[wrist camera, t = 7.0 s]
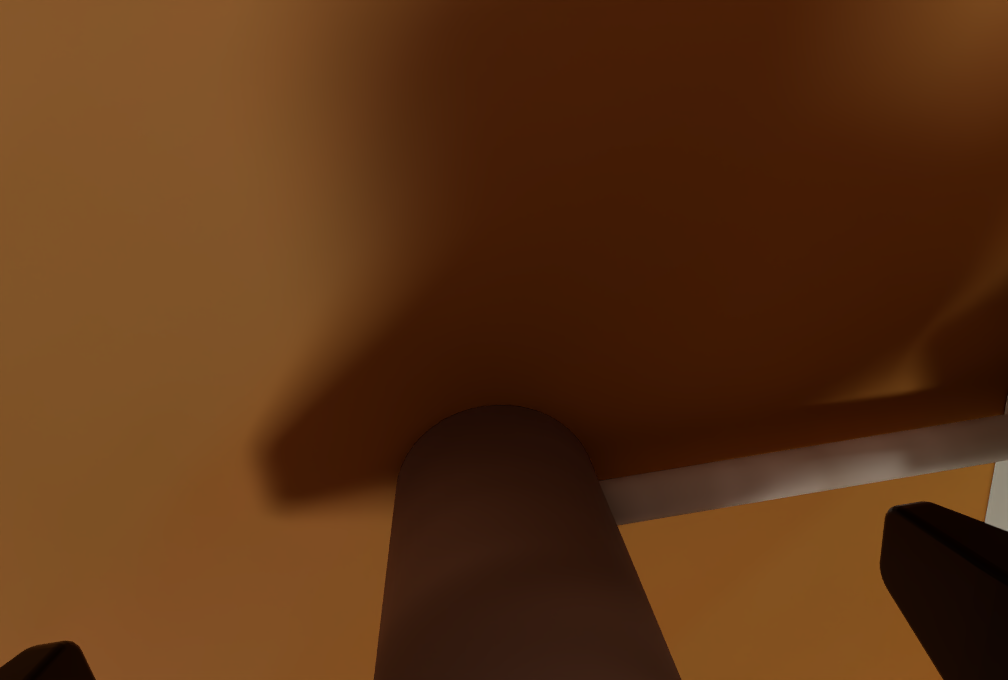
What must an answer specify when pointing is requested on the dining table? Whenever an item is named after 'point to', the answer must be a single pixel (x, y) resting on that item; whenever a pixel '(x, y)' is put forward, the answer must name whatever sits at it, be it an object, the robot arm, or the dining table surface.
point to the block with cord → (585, 539)
